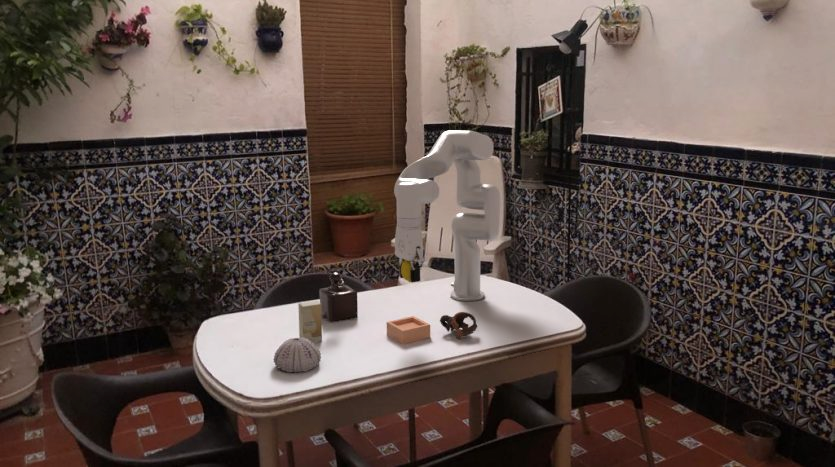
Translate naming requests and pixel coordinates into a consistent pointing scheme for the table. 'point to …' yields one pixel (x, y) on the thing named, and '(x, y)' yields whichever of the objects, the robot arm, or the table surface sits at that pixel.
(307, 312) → the skincare box
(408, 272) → the lemon
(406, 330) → the orange square tray
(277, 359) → the sea urchin shell
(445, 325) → the pottery mug
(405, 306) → the table surface
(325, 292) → the dark square decanter
